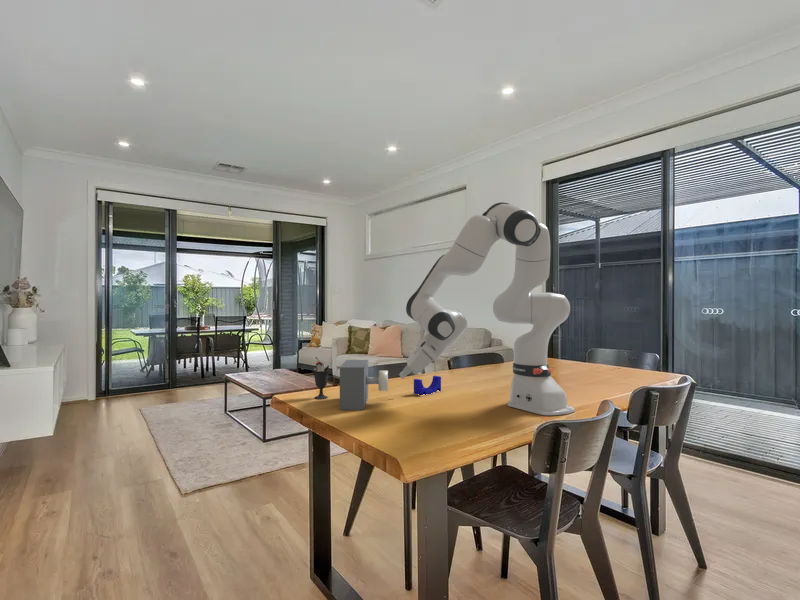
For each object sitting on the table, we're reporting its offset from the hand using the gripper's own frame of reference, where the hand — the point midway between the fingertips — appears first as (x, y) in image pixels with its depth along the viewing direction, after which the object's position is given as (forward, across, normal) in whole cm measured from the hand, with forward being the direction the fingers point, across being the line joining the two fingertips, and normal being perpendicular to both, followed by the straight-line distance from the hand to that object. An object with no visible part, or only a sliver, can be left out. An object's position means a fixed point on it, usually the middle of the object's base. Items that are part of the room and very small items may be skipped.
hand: (400, 376), depth 149 cm
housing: (+18, -2, -4) cm, 19 cm away
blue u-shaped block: (-1, -19, +15) cm, 24 cm away
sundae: (+28, -11, -14) cm, 33 cm away
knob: (+10, -2, -3) cm, 11 cm away
